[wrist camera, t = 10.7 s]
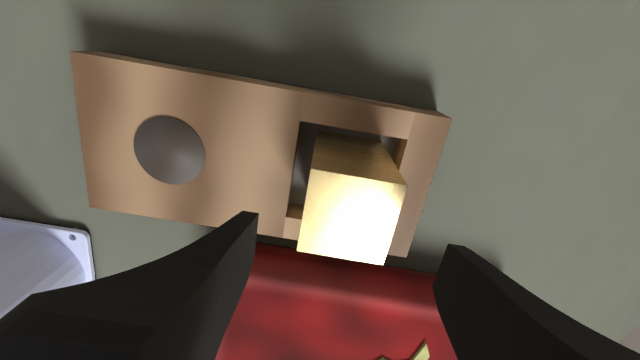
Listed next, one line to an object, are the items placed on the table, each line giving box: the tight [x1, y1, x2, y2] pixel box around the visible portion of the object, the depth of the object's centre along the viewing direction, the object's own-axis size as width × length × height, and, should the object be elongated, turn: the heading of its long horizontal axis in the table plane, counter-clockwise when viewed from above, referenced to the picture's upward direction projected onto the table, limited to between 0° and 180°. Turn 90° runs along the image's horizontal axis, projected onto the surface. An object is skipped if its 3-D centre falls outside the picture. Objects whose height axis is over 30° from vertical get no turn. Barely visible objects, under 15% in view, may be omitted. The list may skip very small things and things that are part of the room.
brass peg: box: [297, 130, 408, 265], centre depth 17 cm, size 4×4×7 cm
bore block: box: [70, 51, 452, 257], centre depth 19 cm, size 20×9×3 cm, turn 80°
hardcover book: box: [215, 242, 458, 360], centre depth 24 cm, size 12×21×4 cm, turn 79°
